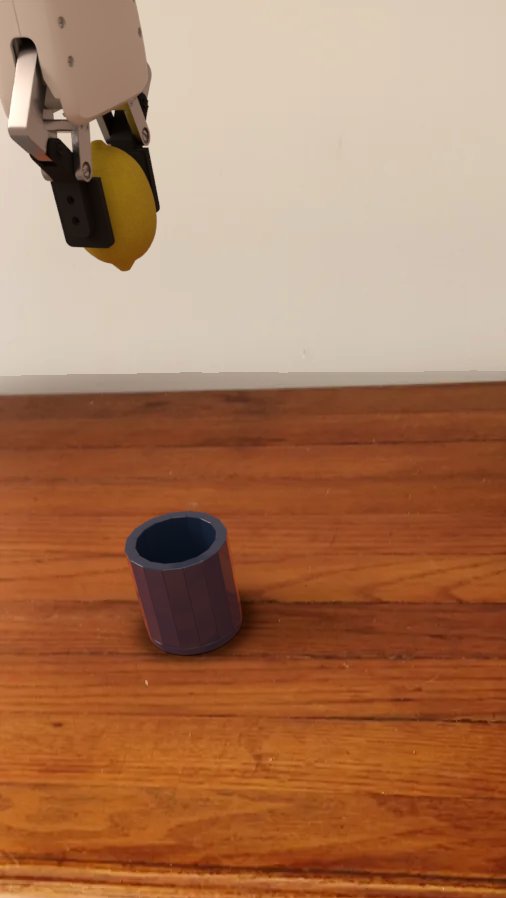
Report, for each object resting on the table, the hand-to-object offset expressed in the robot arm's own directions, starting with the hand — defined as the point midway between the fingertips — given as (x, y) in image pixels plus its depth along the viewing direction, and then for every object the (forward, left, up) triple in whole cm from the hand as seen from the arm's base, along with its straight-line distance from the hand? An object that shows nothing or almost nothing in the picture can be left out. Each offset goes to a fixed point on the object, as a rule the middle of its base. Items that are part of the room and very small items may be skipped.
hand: (114, 226), depth 62 cm
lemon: (0, 0, -3) cm, 3 cm away
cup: (+8, -13, -22) cm, 26 cm away
